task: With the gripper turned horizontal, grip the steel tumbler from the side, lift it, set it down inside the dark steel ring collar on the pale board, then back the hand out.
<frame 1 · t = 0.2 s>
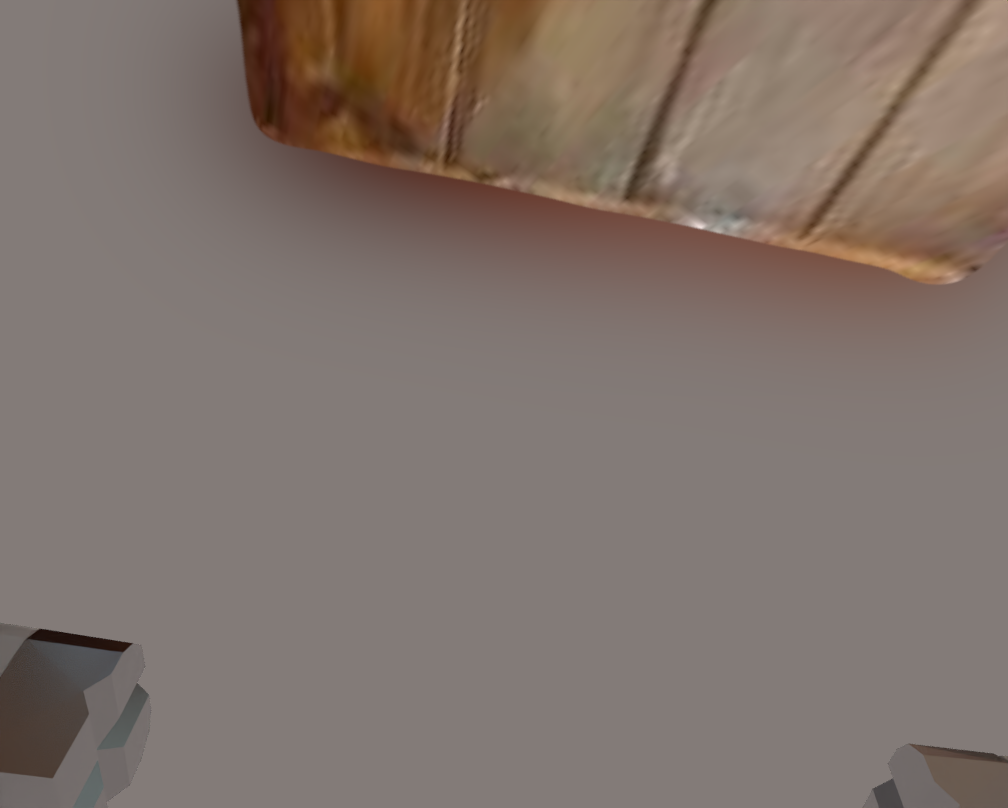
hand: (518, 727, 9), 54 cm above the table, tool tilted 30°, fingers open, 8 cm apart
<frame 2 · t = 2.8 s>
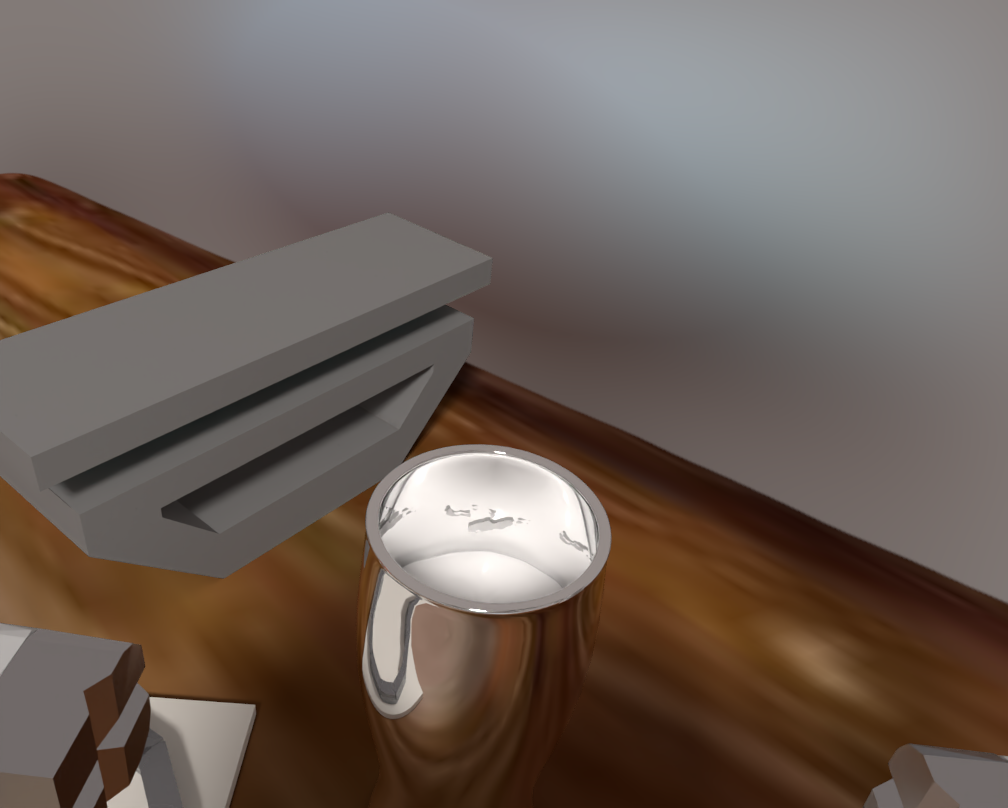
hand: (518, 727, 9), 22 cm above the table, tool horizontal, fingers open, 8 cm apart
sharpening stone: (268, 487, 46), on the table
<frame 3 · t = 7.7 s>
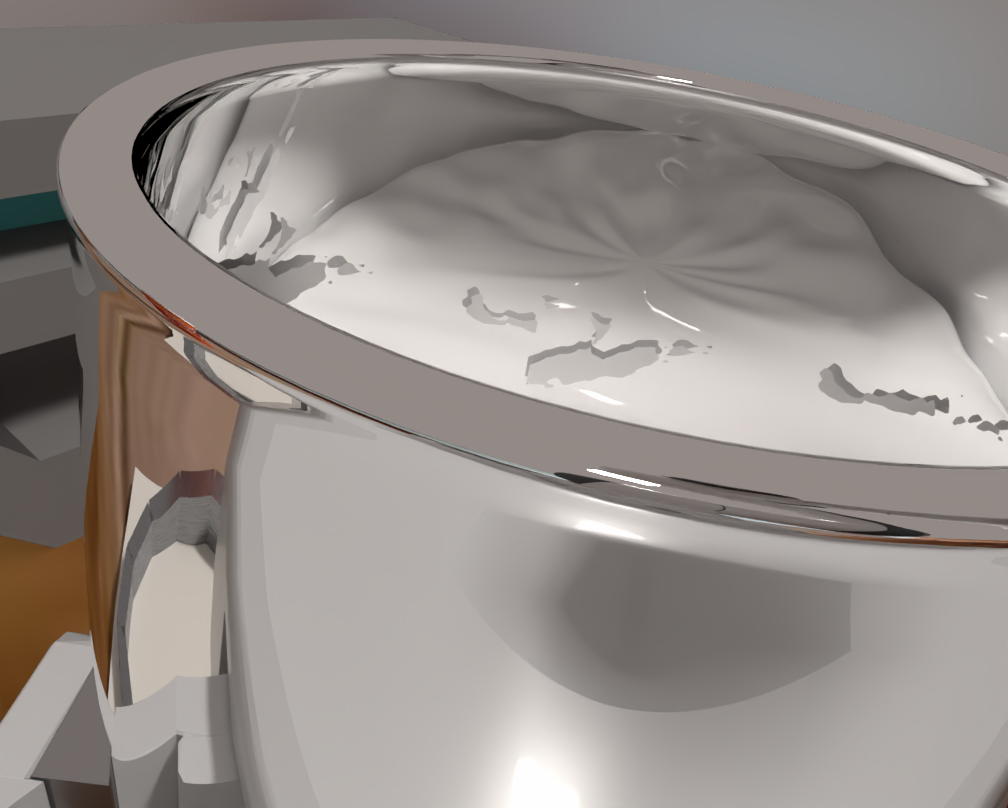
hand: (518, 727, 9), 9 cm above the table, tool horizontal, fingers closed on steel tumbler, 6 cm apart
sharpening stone: (174, 413, 28), on the table
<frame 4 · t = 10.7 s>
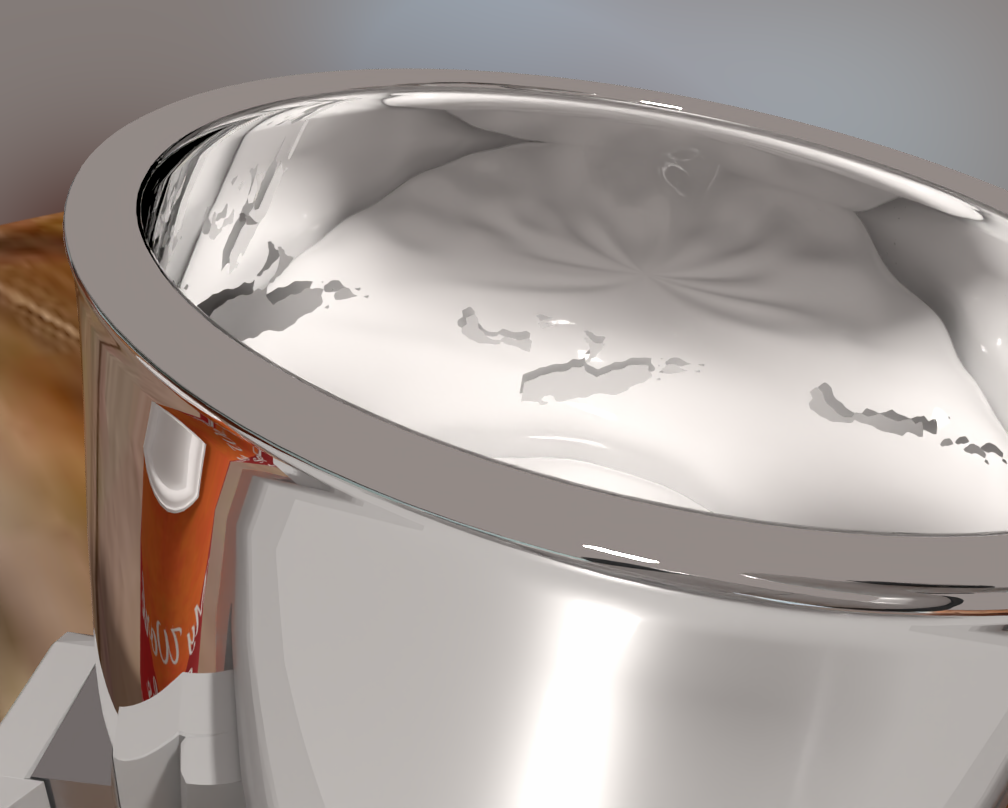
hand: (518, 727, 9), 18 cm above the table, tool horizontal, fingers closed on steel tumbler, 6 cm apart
when the fingers open (10 cm above the table, at t = 13.5 s): steel tumbler moves 2 cm, resting on pale board.
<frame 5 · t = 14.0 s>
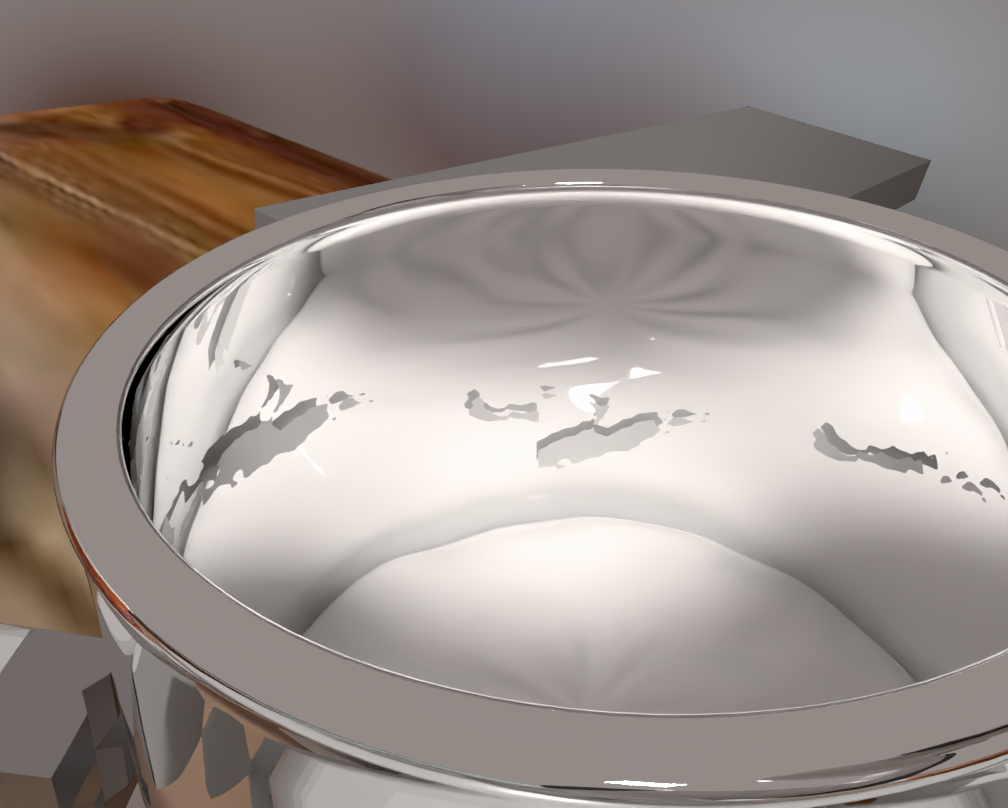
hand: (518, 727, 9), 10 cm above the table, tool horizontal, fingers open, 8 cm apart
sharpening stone: (606, 466, 32), on the table
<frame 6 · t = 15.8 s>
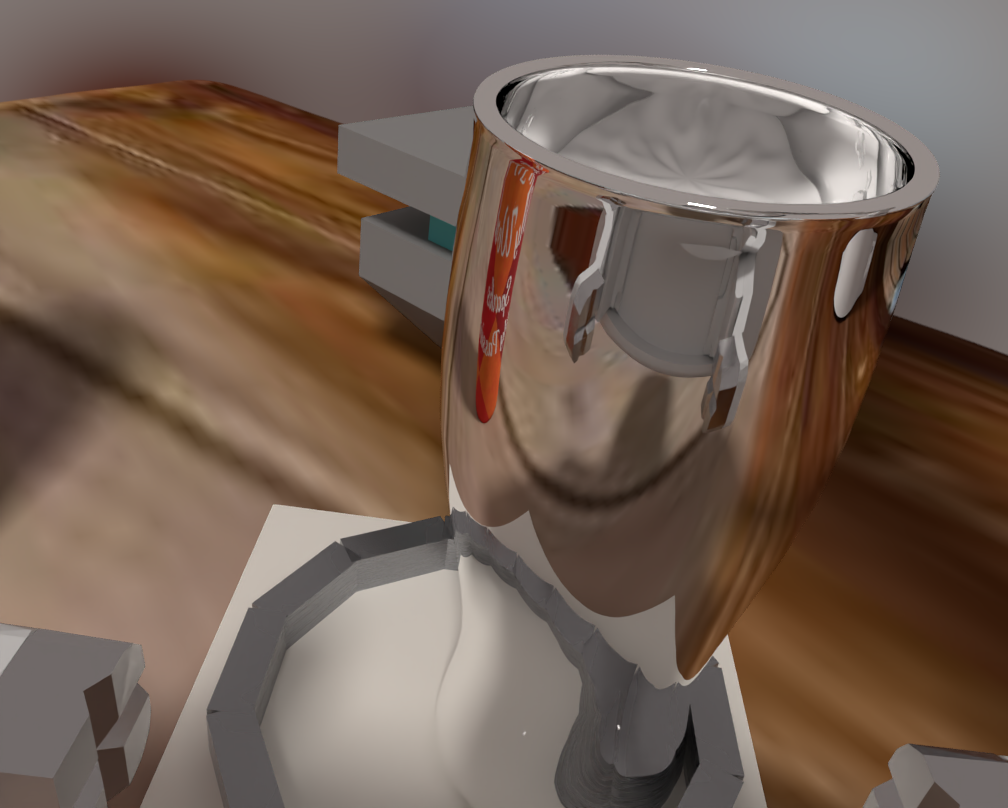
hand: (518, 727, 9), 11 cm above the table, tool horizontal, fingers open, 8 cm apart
steel ring collar: (479, 703, 21), on the pale board, point 1 cm above the table
steel tumbler: (557, 732, 21), point 1 cm above the table, touching pale board
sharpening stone: (598, 359, 40), on the table
pale board: (474, 734, 21), on the table
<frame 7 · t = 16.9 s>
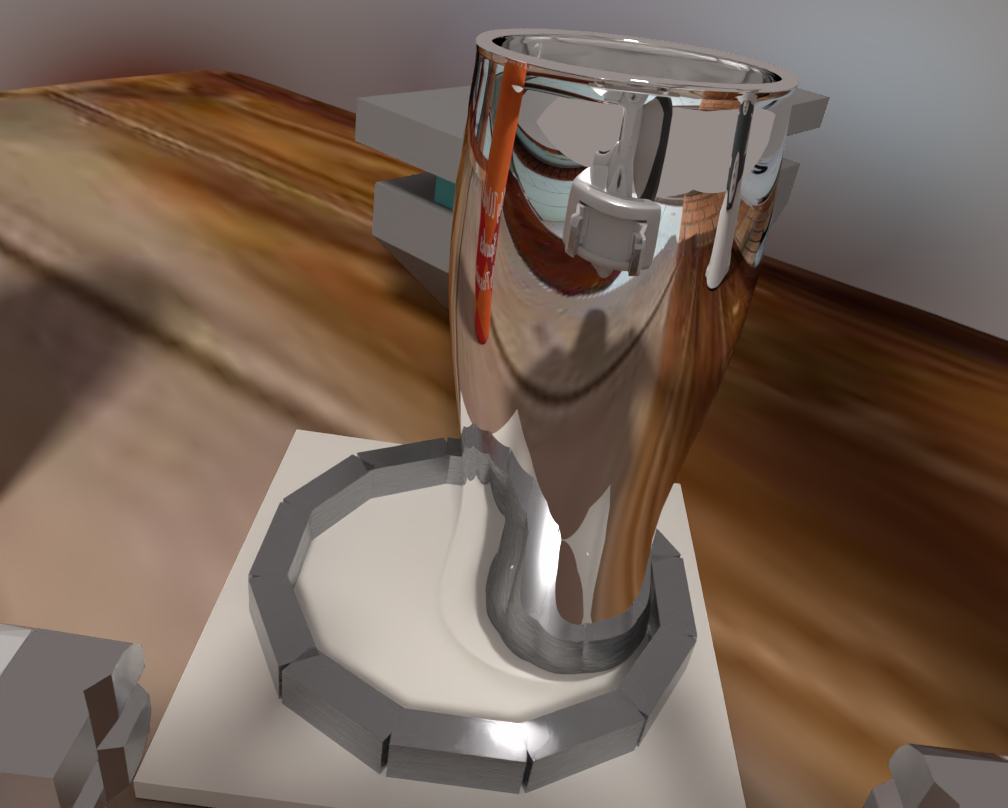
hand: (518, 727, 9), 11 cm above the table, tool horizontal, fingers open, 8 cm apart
steel ring collar: (476, 581, 25), on the pale board, point 1 cm above the table
steel tumbler: (541, 609, 25), point 1 cm above the table, touching pale board
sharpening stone: (587, 322, 43), on the table
pale board: (471, 610, 25), on the table
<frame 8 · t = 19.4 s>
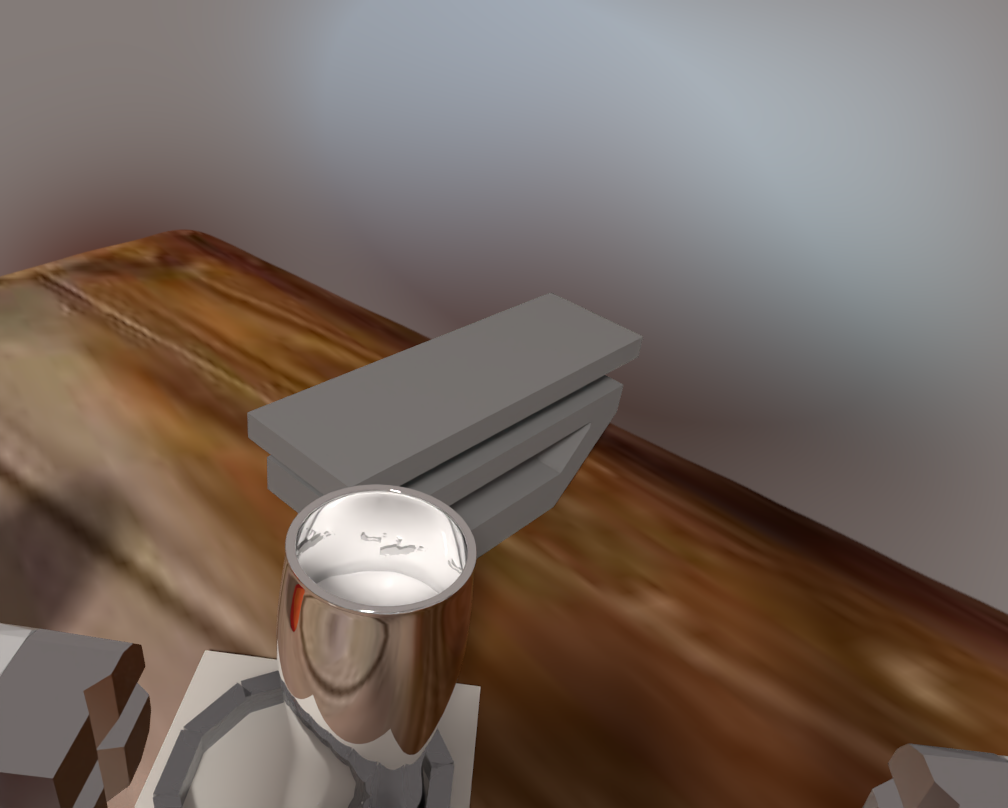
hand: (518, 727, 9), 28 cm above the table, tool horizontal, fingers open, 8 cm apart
steel ring collar: (309, 787, 37), on the pale board, point 1 cm above the table
steel tumbler: (354, 805, 37), resting on pale board
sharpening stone: (452, 515, 56), on the table
pale board: (309, 803, 38), on the table
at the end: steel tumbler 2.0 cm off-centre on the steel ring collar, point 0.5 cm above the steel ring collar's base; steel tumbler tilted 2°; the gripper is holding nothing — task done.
